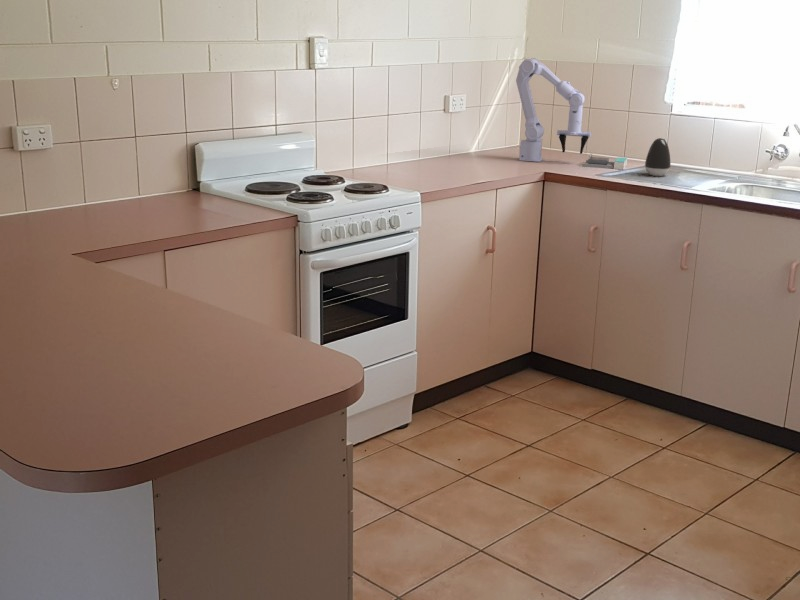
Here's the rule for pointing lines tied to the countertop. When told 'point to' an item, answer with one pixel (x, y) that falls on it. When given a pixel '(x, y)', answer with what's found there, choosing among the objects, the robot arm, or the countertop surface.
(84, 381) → the countertop surface
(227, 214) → the countertop surface
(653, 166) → the dark egg-shaped dome
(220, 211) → the countertop surface
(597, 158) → the trolley
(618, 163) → the dock
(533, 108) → the robot arm
